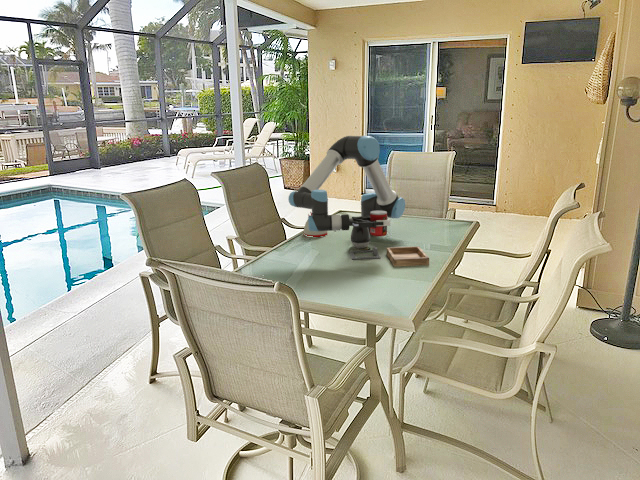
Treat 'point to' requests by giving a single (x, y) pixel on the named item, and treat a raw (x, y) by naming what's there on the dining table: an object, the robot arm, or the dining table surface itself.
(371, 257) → the frame
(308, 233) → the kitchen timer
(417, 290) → the dining table surface
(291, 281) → the dining table surface
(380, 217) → the canned food
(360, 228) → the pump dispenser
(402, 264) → the tray
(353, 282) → the dining table surface
